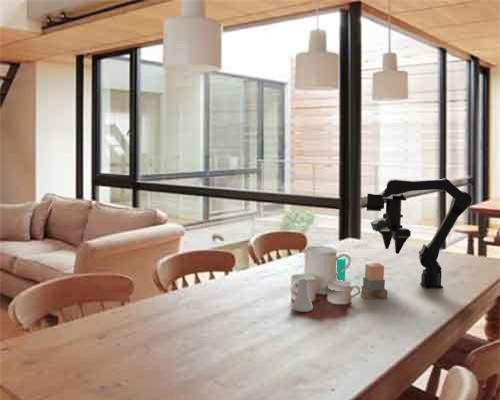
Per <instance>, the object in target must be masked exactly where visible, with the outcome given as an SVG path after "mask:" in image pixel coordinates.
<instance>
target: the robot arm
mask: <svg viewBox="0 0 500 400" xmlns="http://www.w3.org/2000/svg"><path fill="white" fill-rule="evenodd" d="M432 190H433V191H434V190H444V191H445V192H446V193H447V194H448V195H450V196H451V201H450V206H449V208H448V211H447V213H446V215H445V216H444V218H443V220H442V222H441V224H440V225H439V227H438V229H437V231H435V234H434V236H433V238H432V239H431V240H430V242H429V243H428V244H427V245H426V244H425V243H424V244H423V245H422V248H421V249H420V250H419V251H418V254H419V255H418V259H419V262H420V265H421V266H422V267H423V268H425V269H422V273H421V277H420V278H421V280H420V283H419V285H421V286H423V287H425V288H427V289H440V288H443V289H444V286H443V285H442V275H443V274H442V267H441V265H440V262H438V258H439V255H440V251H441V247H443V244H444V243H445V240H446V239H447V237H448V236H449V234H450V232H451V231H452V229H453V227H454V225H455V223H456V222H457V220H458V218H459V217H460V216H461V215H462V214H463V213H464V212H465V211H466V210H467V209H468V208H469V206H470V205H471V204H472V201H473V200H472V196H471V194H470V193H468V192H466V191H465V190H461V189H459V188H458V187H457V186H456V185H454V184H453V183H452V181H450V180H449V179H448V178H441V179H440V178H439V179H423V180H422V179H420V180H419V179H417V180H407V179H400V178H391V179H390V180H388V181H387V182H386V188H384V190H383V191H382V192H381V193H371V192H369V193H367V199H366V211H367V212H369V211H370V212H382V210H384V209H385V213H383V214H382V217H380V218H378V219H375V220H373V221H371V222H370V226H371V228H372V231H375V232H377V233H379V234H380V235H381V237H382V240H383V244H384V248H385V249H386V250H389V249H390V245H391V242H392V240H394V248H395V249H394V251H395V254H396V255H398V254H400V252H401V250H402V249H403V246H404V245H405V243H406V241H408V239H409V238H410V237H411V233H412V232H411V230H410V229H409V228H407V227H403V226H404V225H402V224H401V222H402V221H401V220H402V218H404V214H402V201H403V202H404V201H407V199H408V198H407V197H405V196H404V194H405V193H408V192H412V191H432ZM390 196H391V197H390Z"/></svg>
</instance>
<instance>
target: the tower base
mask: <svg viewBox="0 0 500 400" xmlns="http://www.w3.org/2000/svg"><path fill="white" fill-rule="evenodd" d="M360 293H361V295H362V296H363V298H365V299H366V300H368V301H372V300H373V301H374V300H375V301H377V299H378V300H387V299H388V289H386V288H384V289H383V290H372V291H371V290H369V289H367V288H365V287H363V285H361V292H360Z"/></svg>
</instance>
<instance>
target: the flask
mask: <svg viewBox="0 0 500 400" xmlns="http://www.w3.org/2000/svg"><path fill="white" fill-rule="evenodd" d="M297 282H298V289H297V293H296V296H295V299H294V301H293V304H292V308H291V310H292V311H295V312H301V313H302V312H303V313H305V312H306V313H308V312H311V311H313V309H314V306H313V304H312V300H311V298H310V294H309V290H308V286H307V285H308V279H306V278H299V279H297Z"/></svg>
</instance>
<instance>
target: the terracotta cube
mask: <svg viewBox="0 0 500 400" xmlns="http://www.w3.org/2000/svg"><path fill="white" fill-rule="evenodd" d="M384 276H385V265H383V264H381V263H379V262H373V263H365V269H364V277H366V278H367V279H369V280H370V281H372V280H385V279H384V278H385V277H384Z"/></svg>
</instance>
